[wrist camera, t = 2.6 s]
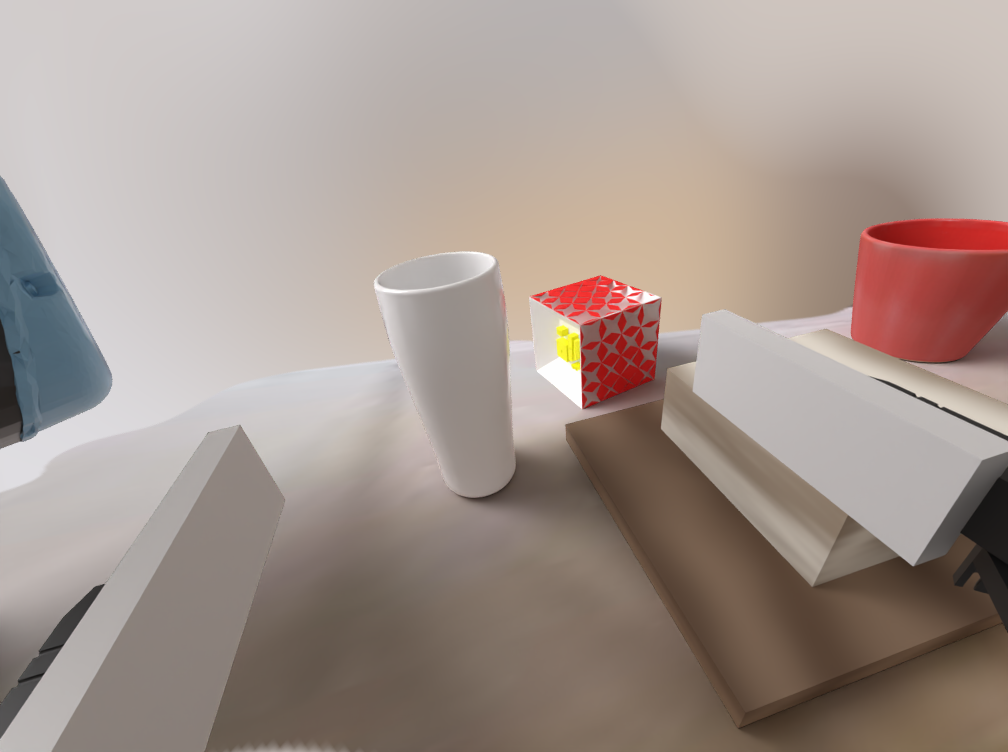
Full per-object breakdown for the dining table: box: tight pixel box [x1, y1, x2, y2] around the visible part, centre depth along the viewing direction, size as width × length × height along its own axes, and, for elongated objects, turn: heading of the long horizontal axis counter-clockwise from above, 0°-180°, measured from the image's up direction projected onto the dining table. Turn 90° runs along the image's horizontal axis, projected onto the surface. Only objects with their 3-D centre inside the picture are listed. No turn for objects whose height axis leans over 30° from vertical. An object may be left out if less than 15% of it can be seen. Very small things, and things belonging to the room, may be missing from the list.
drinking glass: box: [374, 252, 516, 498], centre depth 25 cm, size 7×7×15 cm
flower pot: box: [851, 219, 1008, 362], centre depth 33 cm, size 11×11×10 cm
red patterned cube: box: [529, 275, 661, 409], centre depth 36 cm, size 8×8×8 cm
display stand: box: [566, 329, 1008, 728], centre depth 23 cm, size 24×18×6 cm
